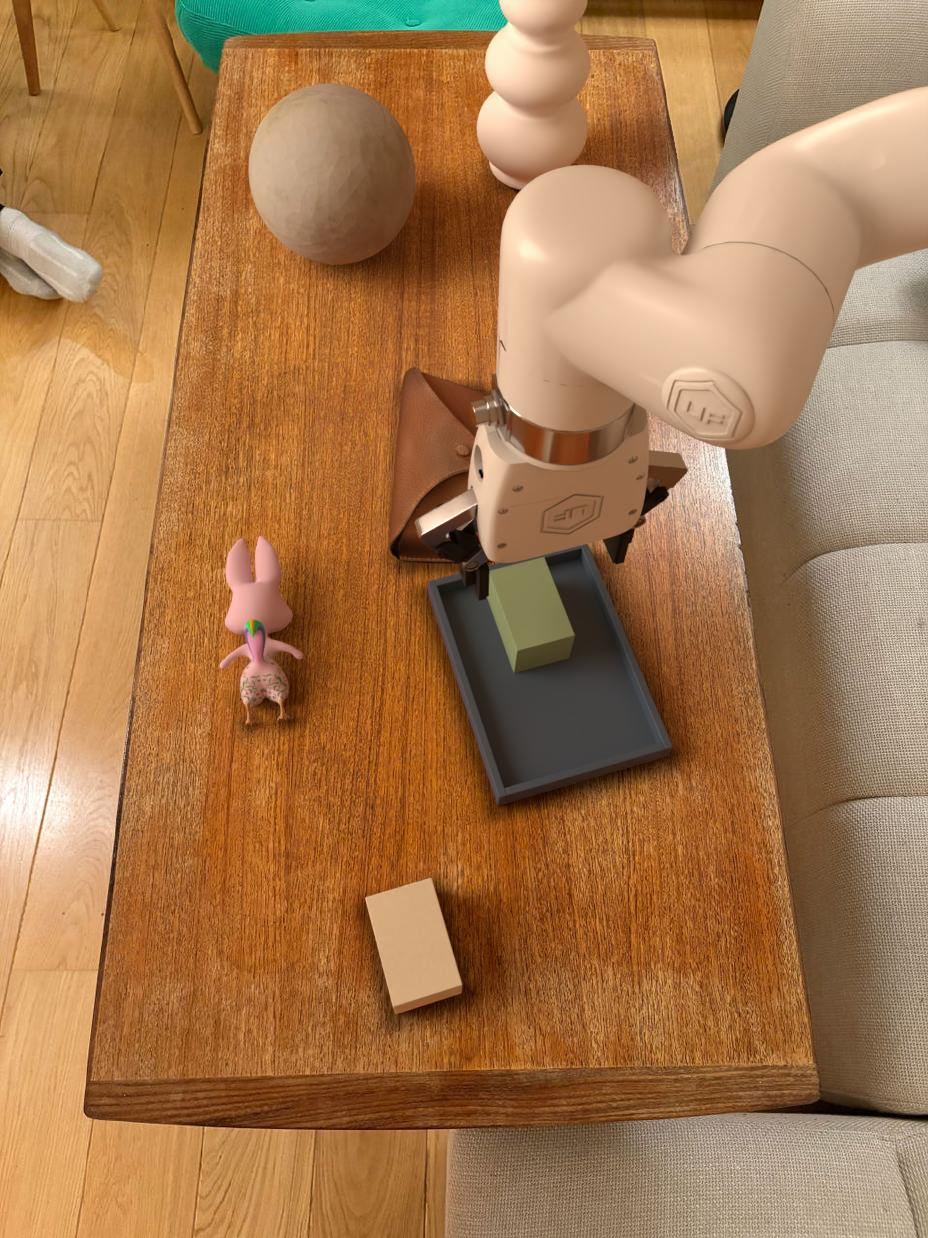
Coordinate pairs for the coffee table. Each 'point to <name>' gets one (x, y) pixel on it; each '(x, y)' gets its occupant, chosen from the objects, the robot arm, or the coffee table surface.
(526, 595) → the sage pad
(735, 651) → the coffee table surface
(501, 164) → the vase
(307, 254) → the decorative sphere
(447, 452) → the sunglasses case
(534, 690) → the tray
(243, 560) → the rabbit figure
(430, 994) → the cream pad
